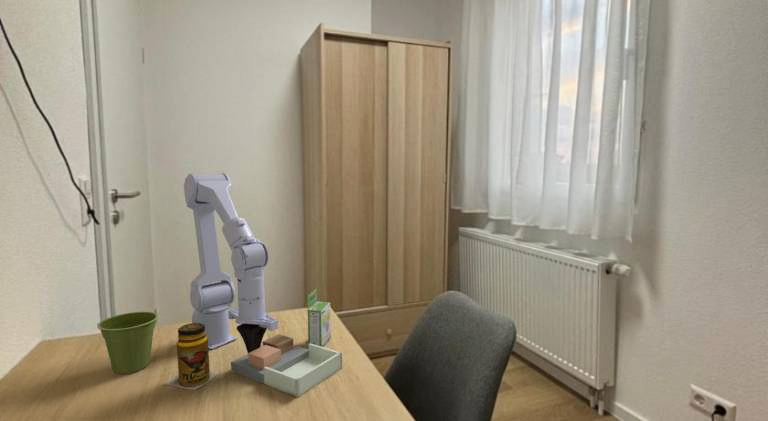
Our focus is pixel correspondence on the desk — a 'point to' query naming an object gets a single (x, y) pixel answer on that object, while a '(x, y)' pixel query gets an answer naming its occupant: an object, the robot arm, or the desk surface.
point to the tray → (305, 371)
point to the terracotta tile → (264, 356)
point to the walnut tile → (280, 343)
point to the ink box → (318, 321)
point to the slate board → (257, 373)
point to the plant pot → (129, 340)
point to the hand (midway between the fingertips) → (253, 354)
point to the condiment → (192, 358)
